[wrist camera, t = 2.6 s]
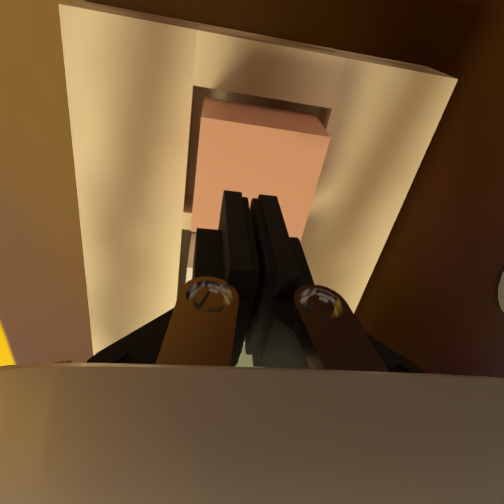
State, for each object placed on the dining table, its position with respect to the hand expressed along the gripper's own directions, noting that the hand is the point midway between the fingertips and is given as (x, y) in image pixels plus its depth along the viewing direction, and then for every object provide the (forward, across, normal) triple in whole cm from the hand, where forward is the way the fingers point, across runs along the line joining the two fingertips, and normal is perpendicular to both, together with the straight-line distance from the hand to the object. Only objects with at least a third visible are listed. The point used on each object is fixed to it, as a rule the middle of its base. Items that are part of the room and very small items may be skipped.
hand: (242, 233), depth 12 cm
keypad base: (+9, -1, +7) cm, 12 cm away
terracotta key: (+7, -1, 0) cm, 7 cm away
